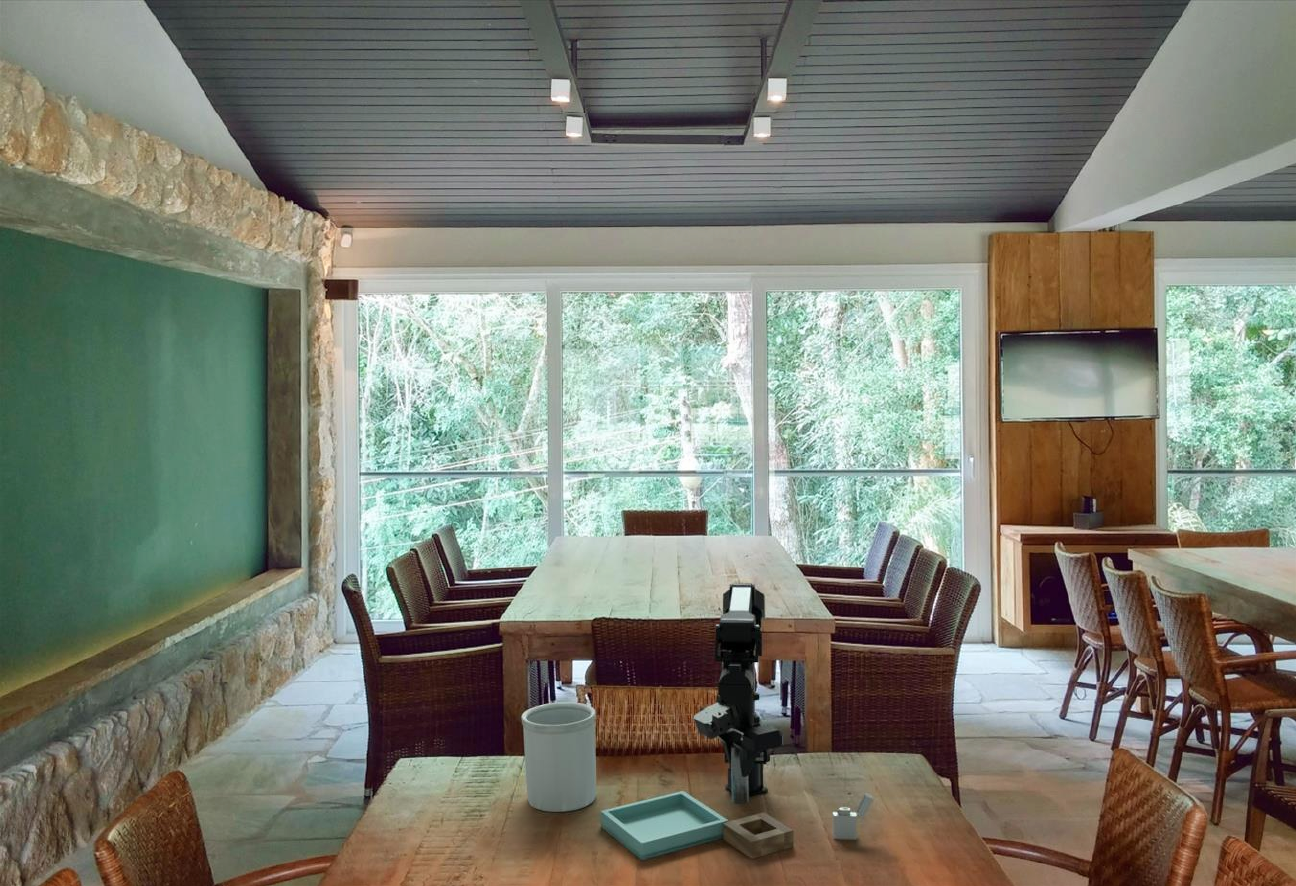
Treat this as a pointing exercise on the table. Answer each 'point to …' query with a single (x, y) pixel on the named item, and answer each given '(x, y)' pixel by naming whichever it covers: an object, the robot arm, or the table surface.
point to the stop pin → (738, 779)
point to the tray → (663, 824)
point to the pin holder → (758, 835)
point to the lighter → (849, 819)
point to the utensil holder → (560, 756)
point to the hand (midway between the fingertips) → (739, 773)
